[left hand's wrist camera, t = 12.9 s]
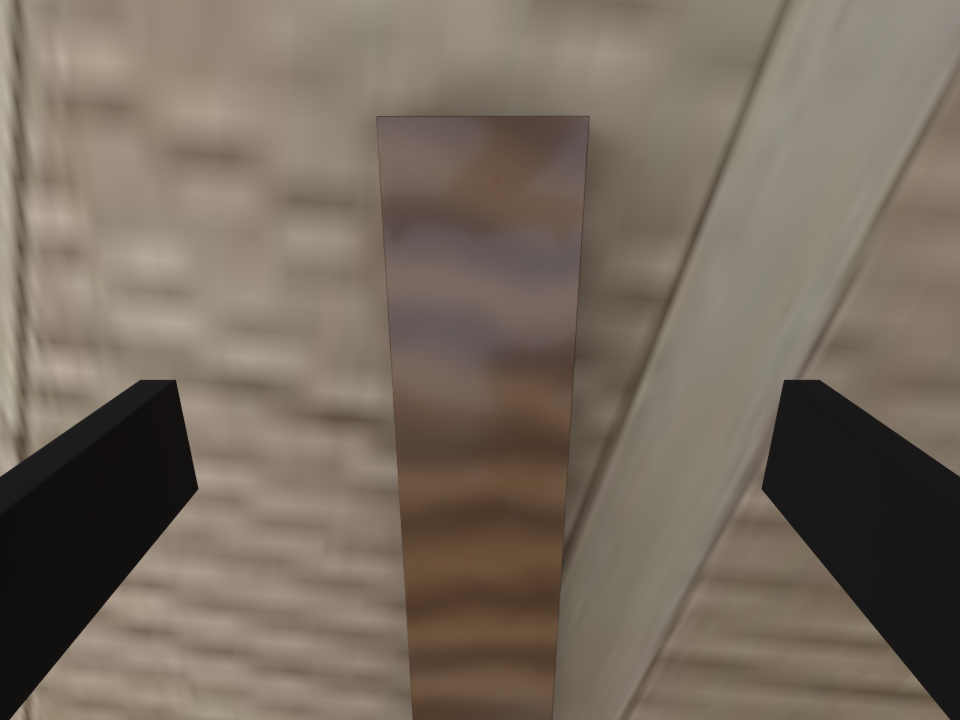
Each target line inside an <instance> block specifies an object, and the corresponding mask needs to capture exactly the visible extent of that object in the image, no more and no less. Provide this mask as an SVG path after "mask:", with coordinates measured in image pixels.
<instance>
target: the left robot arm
mask: <svg viewBox="0 0 960 720" xmlns="http://www.w3.org/2000/svg"><path fill="white" fill-rule="evenodd" d="M197 490H198V485H197V480H196V475H195V470H194V465H193V460H192V456H191V451H190V446H189V441H188V436H187V431H186V427H185V422H184V417H183V412H182V407H181V402H180V398H179V393H178V388H177V383H176V380H140V381H138V382H137V383H135V384H134V385H132V386H131V387H129V388H128V389H127V390H125V391H124V392H122V393H121V394H119V395H118V396H116V397H115V398H114V399H112V400H111V401H109V402H108V403H106V404H105V405H103V406H102V407H101V408H99V409H98V410H96V411H95V412H93V413H92V414H90V415H89V416H88V417H86V418H85V419H83V420H82V421H80V422H79V423H77V424H76V425H74V426H73V427H72V428H70V429H69V430H67V431H66V432H64V433H63V434H61V435H60V436H59V437H57V438H56V439H54V440H53V441H51V442H50V443H48V444H47V445H46V446H44V447H43V448H41V449H40V450H38V451H37V452H35V453H34V454H33V455H31V456H30V457H28V458H27V459H25V460H24V461H22V462H21V463H20V464H18V465H17V466H15V467H14V468H12V469H11V470H9V471H8V472H7V473H5V474H4V475H2V476H1V477H0V720H10V719H11V717H12V716H13V715H14V714H15V713H16V711H17V710H18V709H19V708H20V706H21V705H22V704H23V703H24V702H25V700H26V699H27V698H28V697H29V695H30V694H31V693H32V692H33V691H34V689H35V688H36V687H37V686H38V684H39V683H40V682H41V681H42V680H43V678H44V677H45V676H46V675H47V673H48V672H49V671H50V670H51V669H52V667H53V666H54V665H55V664H56V662H57V661H58V660H59V659H60V658H61V656H62V655H63V654H64V653H65V651H66V650H67V649H68V648H69V647H70V645H71V644H72V643H73V642H74V640H75V639H76V638H77V637H78V636H79V634H80V633H81V632H82V631H83V629H84V628H85V627H86V626H87V625H88V623H89V622H90V621H91V620H92V618H93V617H94V616H95V615H96V614H97V612H98V611H99V610H100V609H101V607H102V606H103V605H104V604H105V603H106V601H107V600H108V599H109V598H110V596H111V595H112V594H113V593H114V592H115V590H116V589H117V588H118V587H119V585H120V584H121V583H122V582H123V581H124V579H125V578H126V577H127V576H128V574H129V573H130V572H131V571H132V570H133V568H134V567H135V566H136V565H137V563H138V562H139V561H140V560H141V559H142V557H143V556H144V555H145V554H146V552H147V551H148V550H149V549H150V548H151V546H152V545H153V544H154V543H155V541H156V540H157V539H158V538H159V537H160V535H161V534H162V533H163V532H164V530H165V529H166V528H167V527H168V526H169V524H170V523H171V522H172V521H173V520H174V518H175V517H176V516H177V515H178V513H179V512H180V511H181V510H182V509H183V507H184V506H185V505H186V504H187V502H188V501H189V500H190V499H191V498H192V496H193V495H194V494H195V493H196V491H197ZM762 490H763V491H764V493H765V494H766V495H767V496H768V498H769V499H770V500H771V501H772V502H773V504H774V505H775V506H776V507H777V509H778V510H779V511H780V512H781V513H782V515H783V516H784V517H785V518H786V520H787V521H788V522H789V523H790V524H791V526H792V527H793V528H794V529H795V530H796V532H797V533H798V534H799V535H800V537H801V538H802V539H803V540H804V541H805V543H806V544H807V545H808V546H809V548H810V549H811V550H812V551H813V552H814V554H815V555H816V556H817V557H818V559H819V560H820V561H821V562H822V563H823V565H824V566H825V567H826V568H827V570H828V571H829V572H830V573H831V574H832V576H833V577H834V578H835V579H836V581H837V582H838V583H839V584H840V585H841V587H842V588H843V589H844V590H845V592H846V593H847V594H848V595H849V596H850V598H851V599H852V600H853V601H854V603H855V604H856V605H857V606H858V607H859V609H860V610H861V611H862V612H863V614H864V615H865V616H866V617H867V618H868V620H869V621H870V622H871V623H872V625H873V626H874V627H875V628H876V629H877V631H878V632H879V633H880V634H881V636H882V637H883V638H884V639H885V640H886V642H887V643H888V644H889V645H890V647H891V648H892V649H893V650H894V651H895V653H896V654H897V655H898V656H899V658H900V659H901V660H902V661H903V662H904V664H905V665H906V666H907V667H908V669H909V670H910V671H911V672H912V673H913V675H914V676H915V677H916V678H917V680H918V681H919V682H920V683H921V684H922V686H923V687H924V688H925V689H926V691H927V692H928V693H929V694H930V695H931V697H932V698H933V699H934V700H935V702H936V703H937V704H938V705H939V706H940V708H941V709H942V710H943V711H944V713H945V714H946V715H947V716H948V717H949V719H950V720H960V477H959V476H958V475H956V474H955V473H953V472H952V471H951V470H949V469H948V468H946V467H945V466H943V465H942V464H940V463H939V462H938V461H936V460H935V459H933V458H932V457H930V456H929V455H927V454H926V453H925V452H923V451H922V450H920V449H919V448H917V447H916V446H914V445H913V444H912V443H910V442H909V441H907V440H906V439H904V438H903V437H901V436H900V435H899V434H897V433H896V432H894V431H893V430H891V429H890V428H888V427H887V426H886V425H884V424H883V423H881V422H880V421H878V420H877V419H875V418H874V417H872V416H871V415H870V414H868V413H867V412H865V411H864V410H862V409H861V408H859V407H858V406H857V405H855V404H854V403H852V402H851V401H849V400H848V399H846V398H845V397H844V396H842V395H841V394H839V393H838V392H836V391H835V390H833V389H832V388H831V387H829V386H828V385H826V384H825V383H823V382H822V381H820V380H784V383H783V388H782V393H781V397H780V402H779V407H778V412H777V417H776V422H775V427H774V431H773V436H772V441H771V446H770V451H769V456H768V460H767V465H766V470H765V475H764V480H763V485H762Z"/></svg>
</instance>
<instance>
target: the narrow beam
mask: <svg viewBox="0 0 960 720" xmlns="http://www.w3.org/2000/svg"><path fill="white" fill-rule="evenodd" d="M376 123H377V139H378V155H379V172H380V188H381V205H382V221H383V237H384V254H385V270H386V286H387V303H388V319H389V335H390V352H391V368H392V384H393V401H394V417H395V433H396V450H397V466H398V482H399V499H400V515H401V531H402V548H403V564H404V580H405V597H406V613H407V629H408V646H409V662H410V678H411V695H412V711H413V720H552V715H553V699H554V683H555V667H556V651H557V634H558V618H559V602H560V586H561V570H562V553H563V537H564V521H565V505H566V489H567V473H568V456H569V440H570V424H571V408H572V392H573V375H574V359H575V343H576V327H577V311H578V295H579V278H580V262H581V246H582V230H583V214H584V198H585V181H586V165H587V149H588V133H589V116H377V117H376Z"/></svg>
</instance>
